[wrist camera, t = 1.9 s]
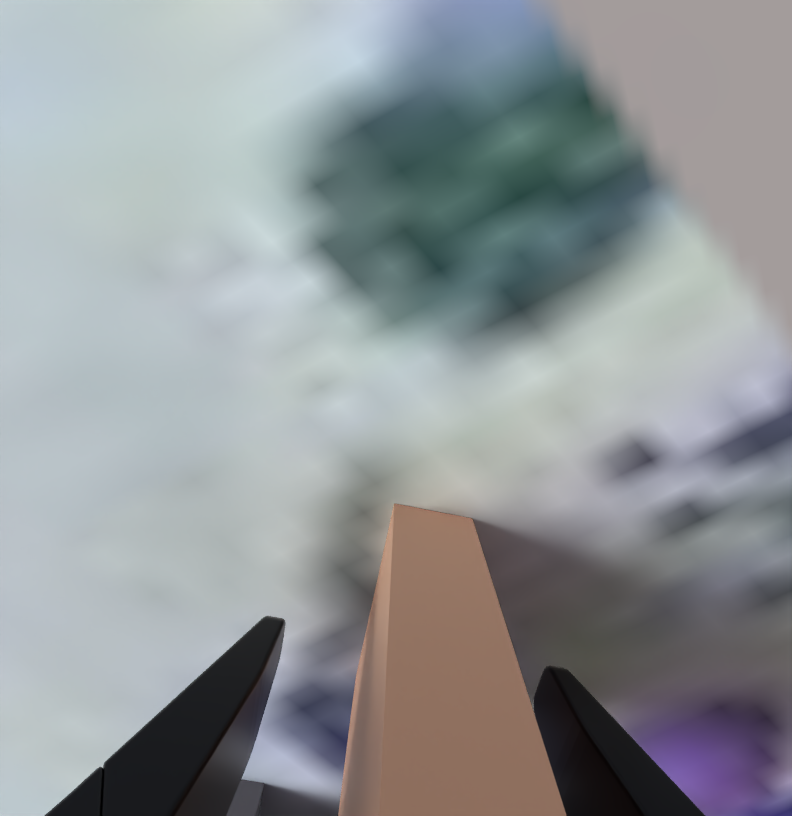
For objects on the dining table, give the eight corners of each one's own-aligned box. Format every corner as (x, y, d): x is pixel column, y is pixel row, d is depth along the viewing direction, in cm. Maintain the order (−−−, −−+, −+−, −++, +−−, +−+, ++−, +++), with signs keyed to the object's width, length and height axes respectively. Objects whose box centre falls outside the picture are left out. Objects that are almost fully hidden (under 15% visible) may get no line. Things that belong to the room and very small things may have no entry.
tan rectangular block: (472, 518, 9) (670, 1140, 2) (424, 689, 10) (464, 1417, 4) (394, 503, 9) (366, 1094, 2) (355, 677, 10) (263, 1394, 4)
